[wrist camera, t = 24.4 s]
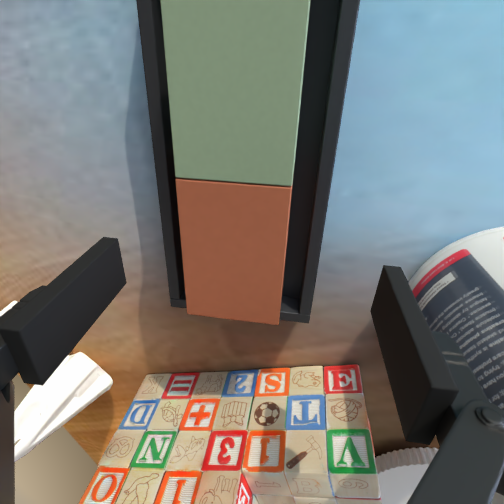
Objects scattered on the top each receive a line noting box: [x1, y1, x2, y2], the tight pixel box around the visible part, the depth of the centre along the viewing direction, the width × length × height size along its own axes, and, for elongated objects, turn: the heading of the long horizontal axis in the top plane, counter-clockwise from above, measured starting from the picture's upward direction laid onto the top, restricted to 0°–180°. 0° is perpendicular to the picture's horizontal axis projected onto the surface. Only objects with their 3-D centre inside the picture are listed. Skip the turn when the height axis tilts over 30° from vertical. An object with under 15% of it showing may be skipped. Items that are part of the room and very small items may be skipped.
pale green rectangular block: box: [160, 0, 311, 186], centre depth 16 cm, size 9×6×5 cm, turn 178°
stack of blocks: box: [79, 364, 382, 504], centre depth 27 cm, size 21×6×12 cm, turn 104°
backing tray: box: [136, 0, 360, 323], centre depth 20 cm, size 23×11×3 cm, turn 178°
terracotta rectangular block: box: [176, 174, 294, 325], centre depth 21 cm, size 9×6×5 cm, turn 178°
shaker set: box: [0, 301, 113, 462], centre depth 28 cm, size 12×4×11 cm, turn 36°
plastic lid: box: [375, 447, 439, 504], centre depth 34 cm, size 14×14×2 cm
